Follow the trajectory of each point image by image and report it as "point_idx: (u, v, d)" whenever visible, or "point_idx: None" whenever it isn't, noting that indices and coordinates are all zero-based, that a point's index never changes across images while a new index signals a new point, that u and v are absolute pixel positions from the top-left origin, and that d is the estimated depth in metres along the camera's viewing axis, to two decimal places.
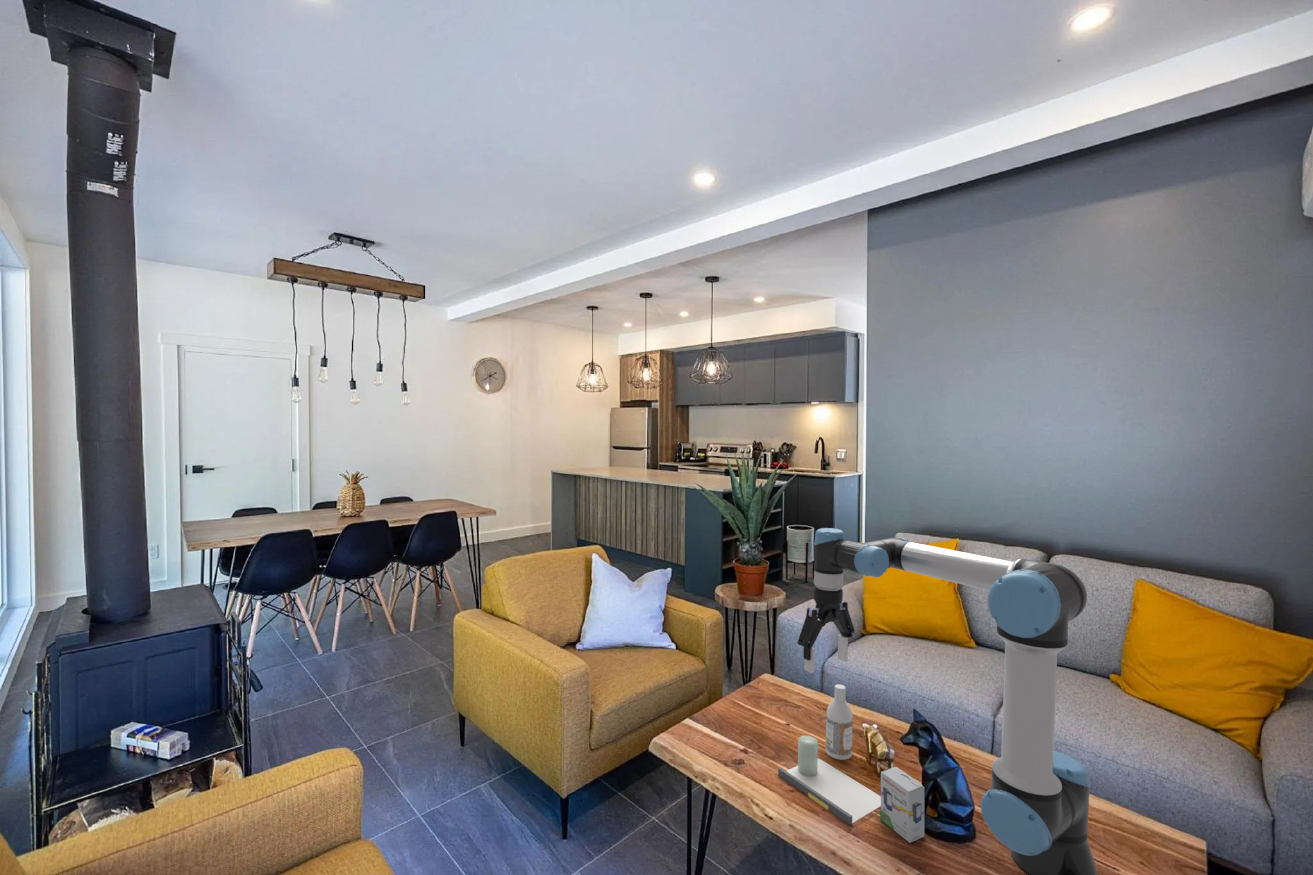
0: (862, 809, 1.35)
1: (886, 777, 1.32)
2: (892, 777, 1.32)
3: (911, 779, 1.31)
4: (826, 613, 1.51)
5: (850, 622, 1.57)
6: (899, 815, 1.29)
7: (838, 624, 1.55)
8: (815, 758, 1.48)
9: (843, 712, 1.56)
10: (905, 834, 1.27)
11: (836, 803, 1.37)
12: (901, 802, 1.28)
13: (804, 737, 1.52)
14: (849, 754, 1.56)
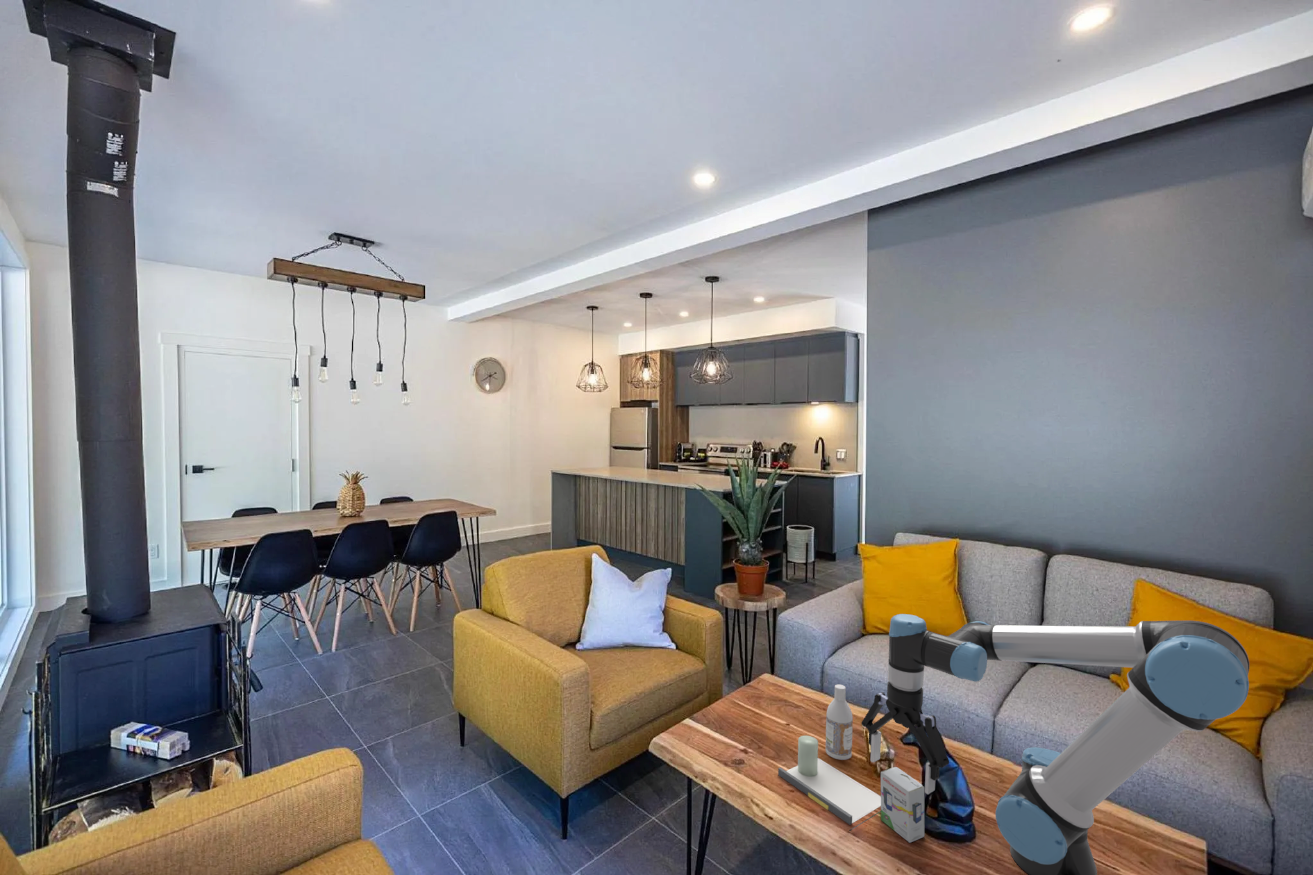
0: (862, 809, 1.35)
1: (886, 777, 1.32)
2: (892, 777, 1.32)
3: (911, 779, 1.31)
4: (892, 709, 1.32)
5: (935, 749, 1.24)
6: (899, 815, 1.29)
7: None
8: (815, 758, 1.48)
9: (843, 712, 1.56)
10: (905, 834, 1.27)
11: (836, 803, 1.37)
12: (901, 802, 1.28)
13: (804, 737, 1.52)
14: (849, 754, 1.56)
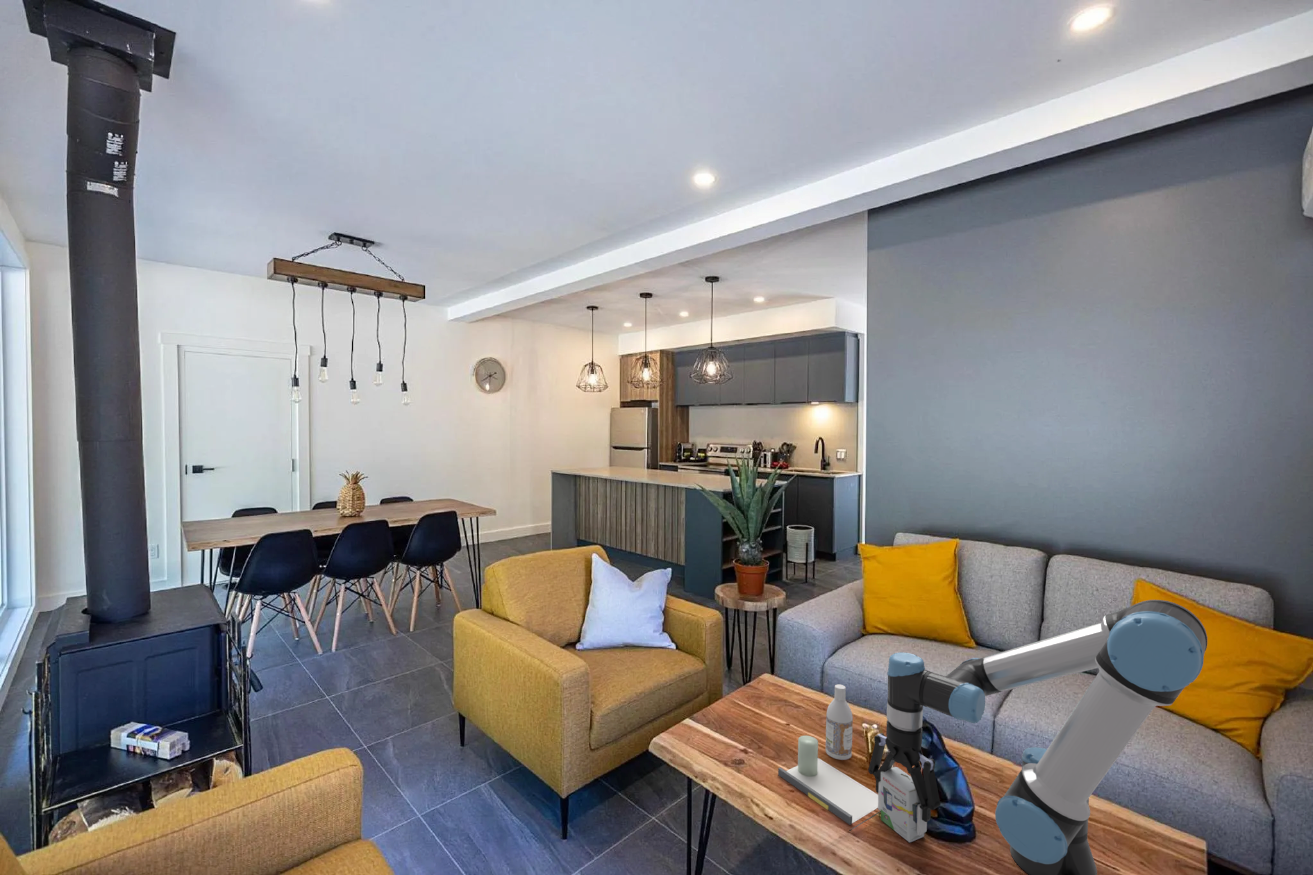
0: (862, 809, 1.35)
1: (886, 777, 1.32)
2: (892, 776, 1.32)
3: (911, 779, 1.31)
4: (891, 749, 1.32)
5: (929, 792, 1.25)
6: (899, 815, 1.29)
7: None
8: (815, 758, 1.48)
9: (843, 712, 1.56)
10: (905, 834, 1.28)
11: (836, 803, 1.37)
12: (901, 802, 1.28)
13: (804, 737, 1.52)
14: (849, 754, 1.56)
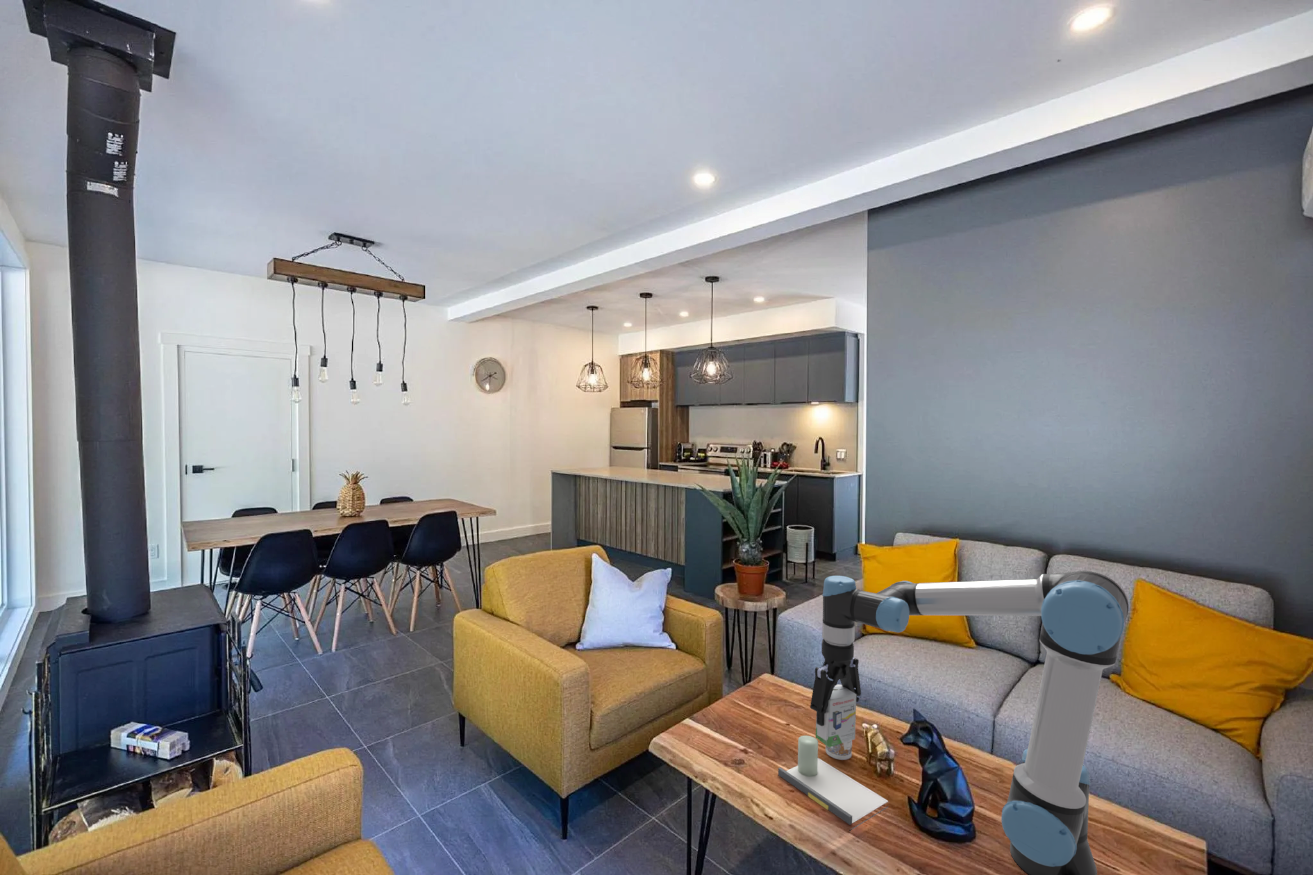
0: (862, 809, 1.35)
1: (836, 700, 1.37)
2: (836, 696, 1.38)
3: (836, 688, 1.42)
4: (836, 671, 1.38)
5: (858, 683, 1.43)
6: (848, 723, 1.39)
7: (845, 684, 1.42)
8: (815, 758, 1.48)
9: None
10: (852, 735, 1.40)
11: (836, 803, 1.37)
12: (850, 710, 1.39)
13: (804, 737, 1.52)
14: (849, 754, 1.56)
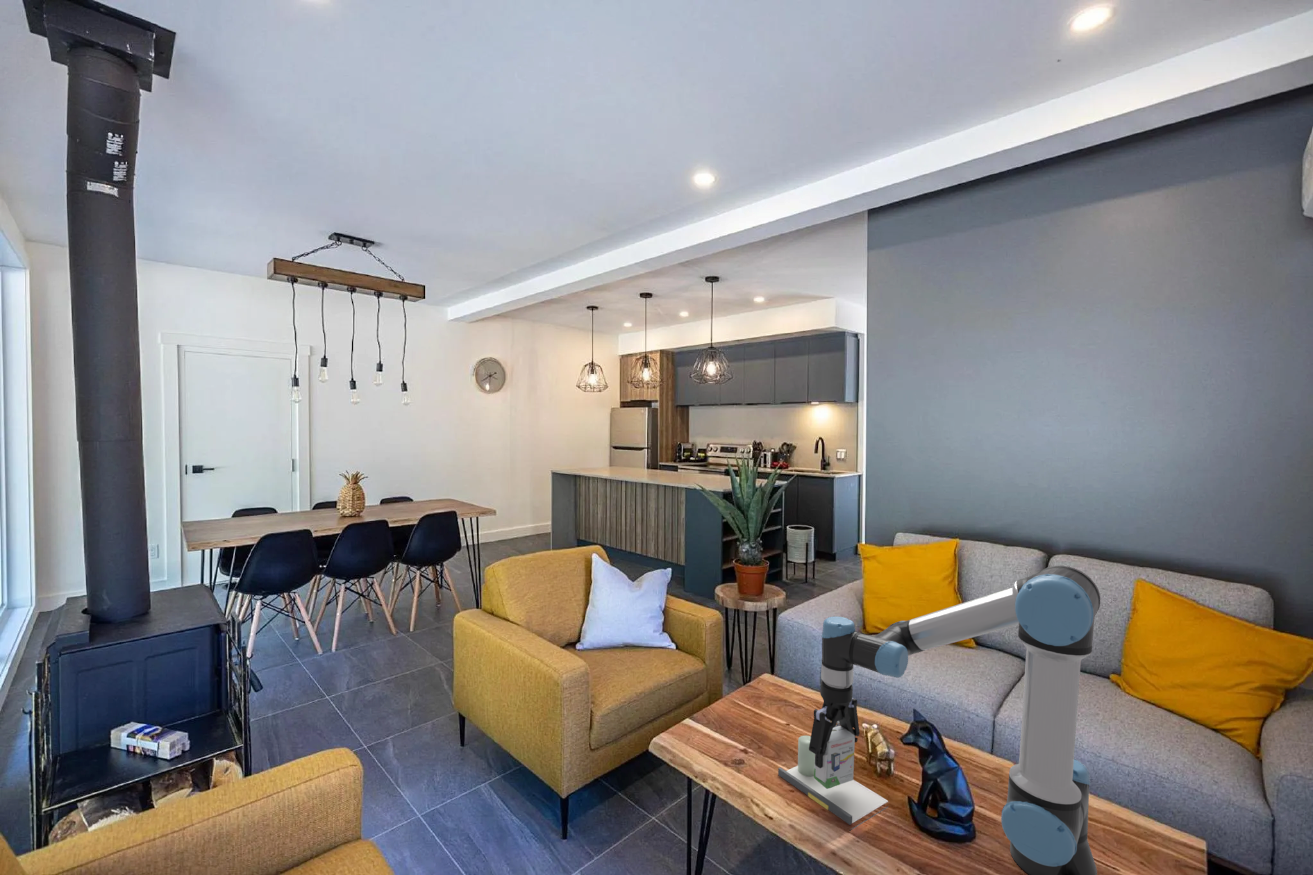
0: (862, 809, 1.35)
1: (834, 742, 1.37)
2: (835, 738, 1.39)
3: (834, 728, 1.42)
4: (835, 713, 1.38)
5: (856, 723, 1.44)
6: (846, 764, 1.39)
7: (844, 725, 1.42)
8: None
9: None
10: (850, 776, 1.40)
11: (836, 803, 1.37)
12: (848, 751, 1.39)
13: (804, 737, 1.52)
14: None
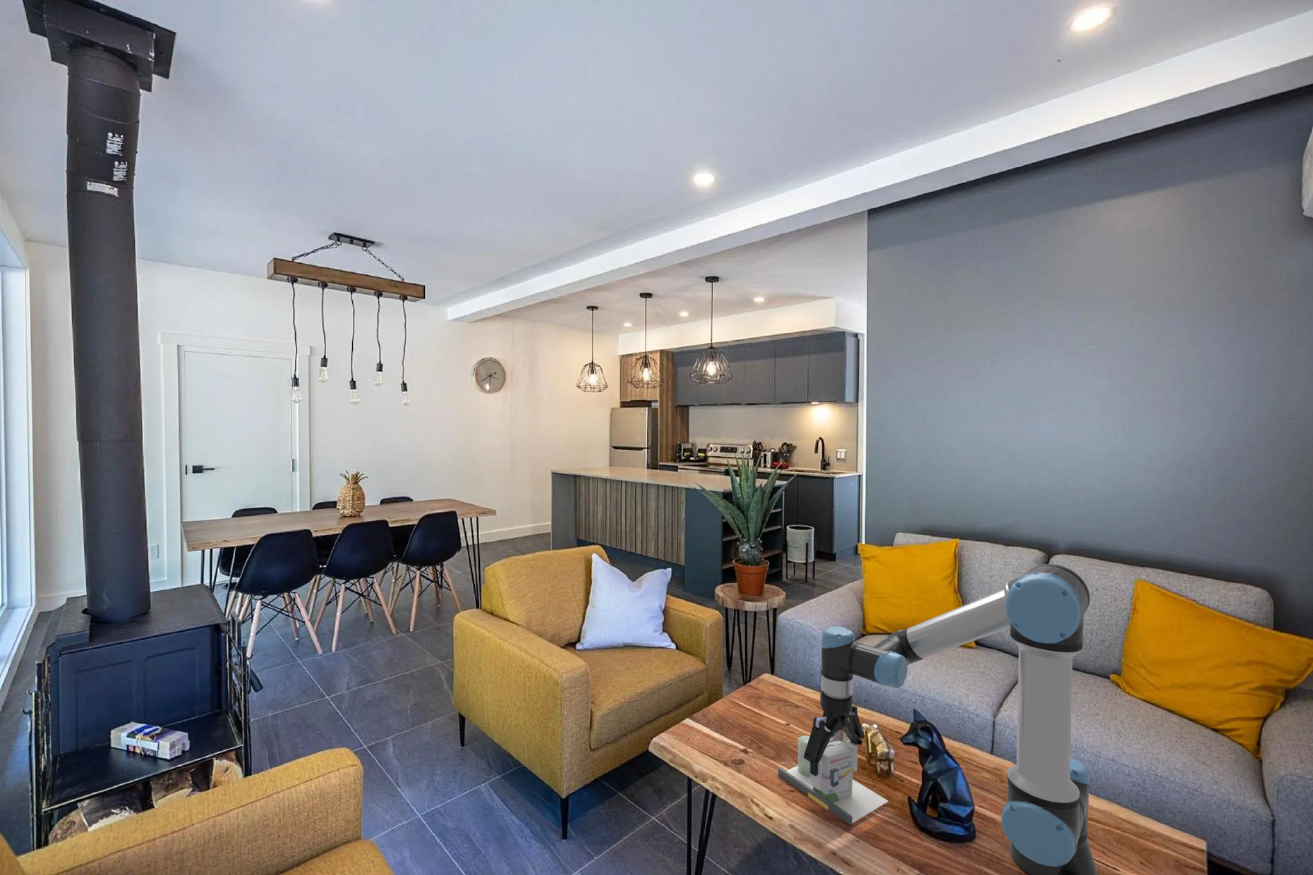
0: (862, 809, 1.35)
1: (833, 758, 1.37)
2: (833, 753, 1.38)
3: (833, 743, 1.42)
4: (834, 722, 1.38)
5: (860, 727, 1.44)
6: (845, 780, 1.39)
7: (847, 731, 1.43)
8: None
9: None
10: (849, 791, 1.40)
11: (836, 803, 1.37)
12: (847, 766, 1.39)
13: (804, 737, 1.52)
14: None
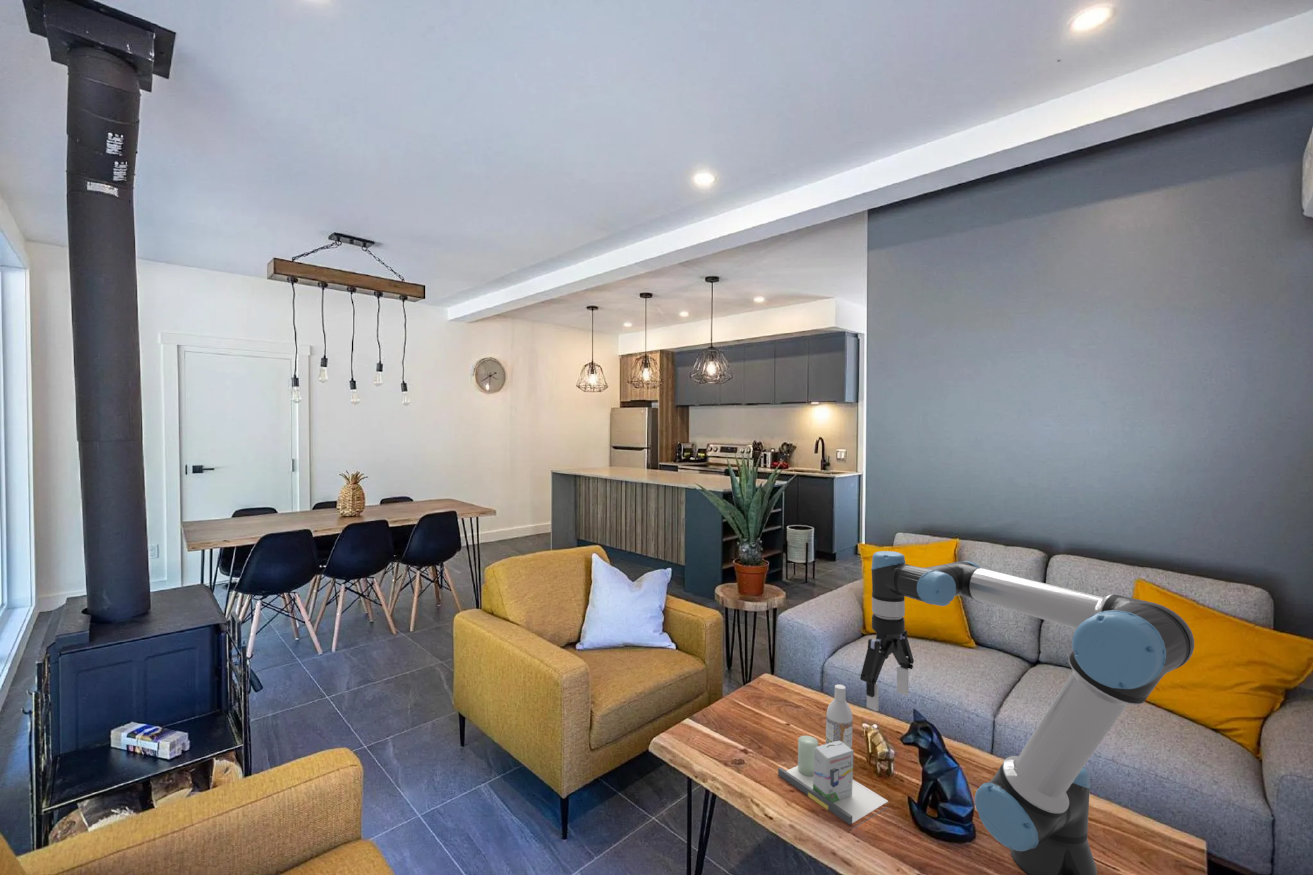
0: (862, 809, 1.35)
1: (833, 758, 1.37)
2: (833, 753, 1.38)
3: (833, 743, 1.42)
4: (888, 644, 1.39)
5: (910, 652, 1.46)
6: (845, 780, 1.39)
7: (898, 655, 1.44)
8: None
9: (843, 712, 1.56)
10: (849, 791, 1.40)
11: (836, 803, 1.37)
12: (847, 766, 1.39)
13: (804, 737, 1.52)
14: None
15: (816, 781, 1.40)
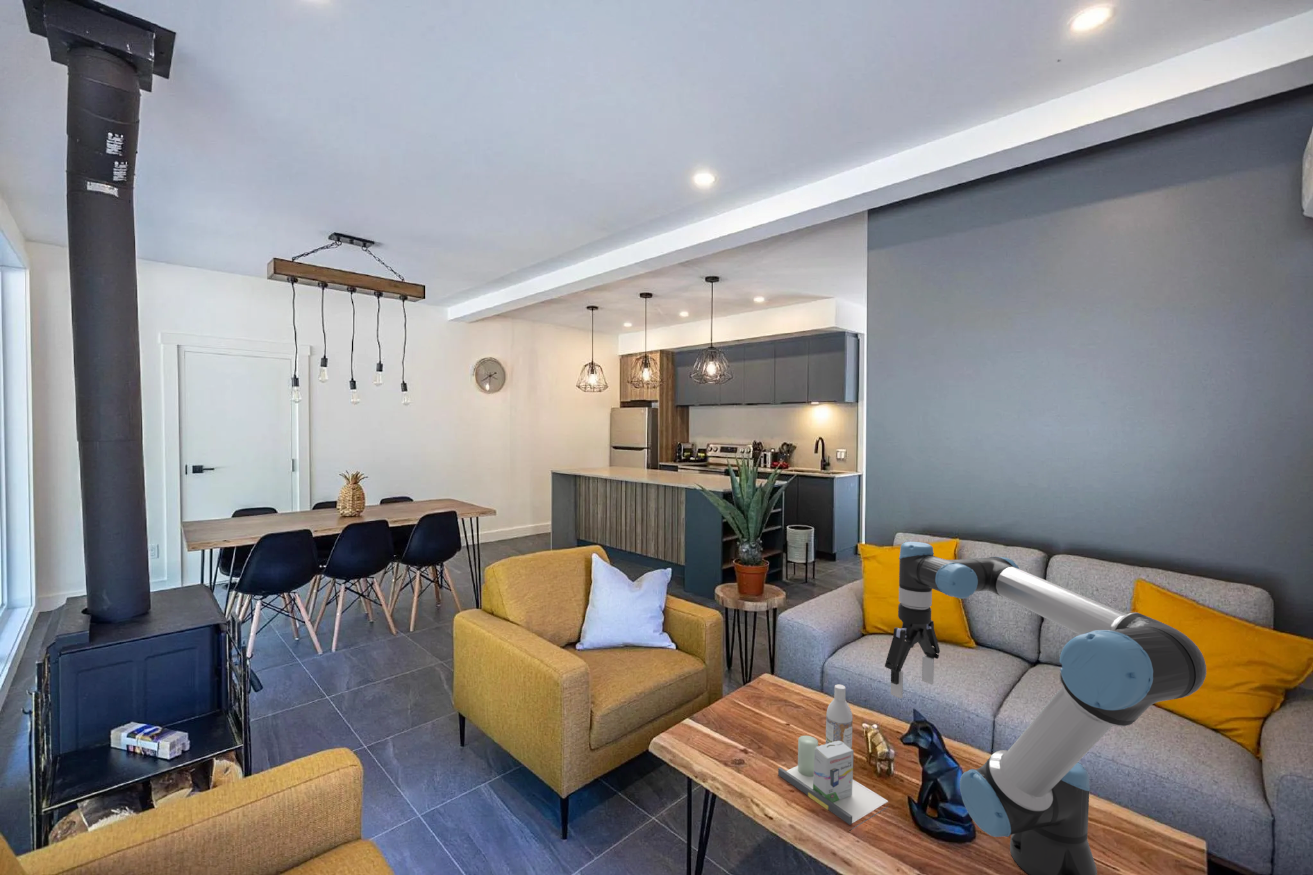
0: (862, 809, 1.35)
1: (833, 758, 1.37)
2: (833, 753, 1.38)
3: (833, 743, 1.42)
4: (914, 633, 1.40)
5: (936, 642, 1.47)
6: (845, 780, 1.39)
7: (924, 645, 1.45)
8: None
9: (843, 712, 1.56)
10: (849, 791, 1.40)
11: (836, 803, 1.37)
12: (847, 766, 1.39)
13: (804, 737, 1.52)
14: None
15: (816, 781, 1.40)
